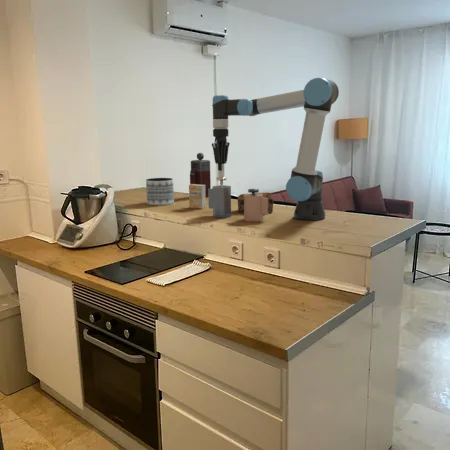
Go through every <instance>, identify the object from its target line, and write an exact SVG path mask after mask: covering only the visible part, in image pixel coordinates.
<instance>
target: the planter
mask: <svg viewBox="0 0 450 450" xmlns="http://www.w3.org/2000/svg"><path fill="white" fill-rule="evenodd" d="M145 185H146V186H145V187H146V203H147V205H149V206H168V205H172V204H174V203H175V197H174V195H175V193H174V191H175V189H174V178H171V177H155V178H153V177H151V178H146V179H145Z"/></svg>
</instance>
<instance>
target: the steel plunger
mask: <svg viewBox="0 0 450 450" xmlns="http://www.w3.org/2000/svg"><path fill="white" fill-rule="evenodd" d="M216 181H219V185H220V187H223V185H224V181H227V177H226V176H224V177H218V176H217V177H216Z"/></svg>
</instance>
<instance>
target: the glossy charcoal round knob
mask: <svg viewBox="0 0 450 450" xmlns="http://www.w3.org/2000/svg"><path fill="white" fill-rule="evenodd" d="M247 192H248V193H249V194H252V196H255V193H260V192H259V189H258V188H249V189H247Z"/></svg>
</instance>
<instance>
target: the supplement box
mask: <svg viewBox="0 0 450 450" xmlns="http://www.w3.org/2000/svg"><path fill="white" fill-rule="evenodd" d="M188 203H189V204H188V205H189V206H188V207H189V209H198V208H199V209H200V210H201V209H202V210H203V209H205V208H206V207H207V206H206V204H207V203H206V198H205V185H198V184H191V185H190V184H188Z"/></svg>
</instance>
